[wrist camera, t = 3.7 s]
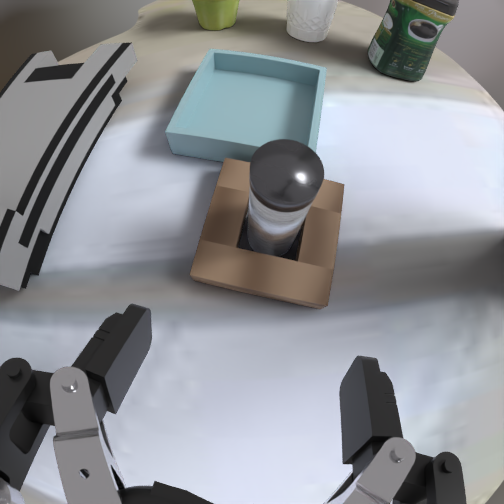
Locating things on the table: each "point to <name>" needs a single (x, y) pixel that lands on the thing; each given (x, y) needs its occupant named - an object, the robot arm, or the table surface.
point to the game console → (50, 146)
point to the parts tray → (246, 106)
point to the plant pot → (216, 13)
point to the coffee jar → (409, 36)
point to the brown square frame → (262, 265)
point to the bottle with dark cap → (281, 193)
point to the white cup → (310, 18)
